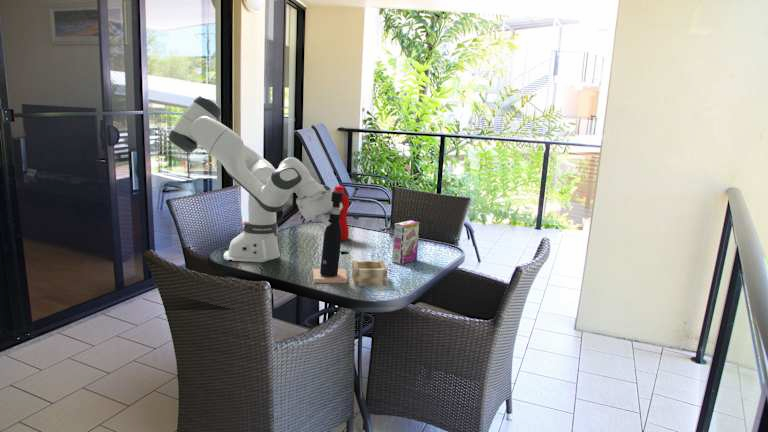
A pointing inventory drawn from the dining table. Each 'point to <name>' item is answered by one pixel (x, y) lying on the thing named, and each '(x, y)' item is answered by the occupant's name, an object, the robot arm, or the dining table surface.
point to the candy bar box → (405, 242)
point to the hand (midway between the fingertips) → (333, 224)
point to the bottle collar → (369, 273)
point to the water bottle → (343, 212)
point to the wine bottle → (332, 239)
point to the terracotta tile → (330, 277)
